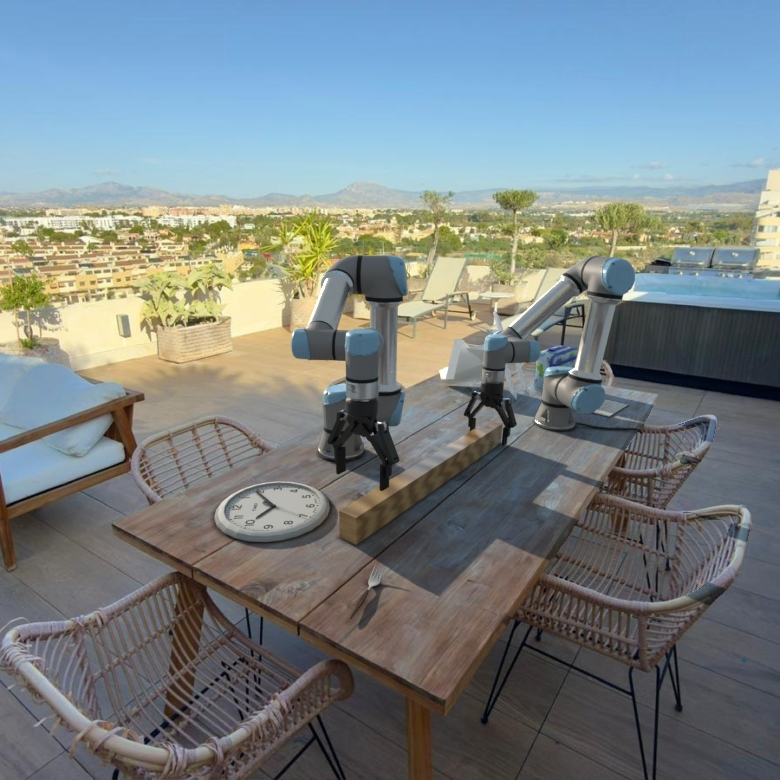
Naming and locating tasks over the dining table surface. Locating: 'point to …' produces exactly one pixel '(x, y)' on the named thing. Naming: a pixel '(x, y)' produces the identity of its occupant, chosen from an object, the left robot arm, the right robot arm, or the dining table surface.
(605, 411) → the invitation card
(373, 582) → the fork
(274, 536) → the wall clock
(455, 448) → the bar
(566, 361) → the lunch box
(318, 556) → the dining table surface
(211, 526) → the dining table surface
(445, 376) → the white plastic object
